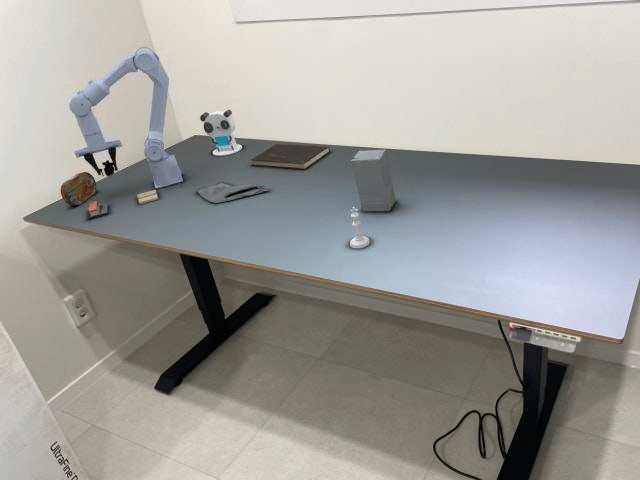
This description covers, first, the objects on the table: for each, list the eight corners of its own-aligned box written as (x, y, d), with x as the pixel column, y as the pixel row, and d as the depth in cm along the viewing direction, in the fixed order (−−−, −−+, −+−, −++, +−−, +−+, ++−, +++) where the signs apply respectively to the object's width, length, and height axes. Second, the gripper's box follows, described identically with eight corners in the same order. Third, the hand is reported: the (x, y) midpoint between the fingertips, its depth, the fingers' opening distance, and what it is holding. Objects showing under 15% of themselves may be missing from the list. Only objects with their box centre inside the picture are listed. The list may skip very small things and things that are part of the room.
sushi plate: (108, 205, 188) (104, 198, 186) (108, 214, 181) (104, 206, 180) (89, 211, 186) (85, 203, 185) (88, 220, 180) (85, 212, 178)
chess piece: (349, 240, 144) (342, 204, 138) (368, 237, 144) (362, 201, 138) (350, 249, 139) (343, 213, 134) (370, 246, 139) (364, 210, 134)
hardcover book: (305, 169, 190) (303, 163, 189) (252, 165, 201) (250, 159, 200) (330, 152, 201) (328, 145, 200) (279, 149, 212) (277, 143, 211)
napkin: (156, 193, 191) (155, 189, 191) (158, 199, 186) (157, 195, 186) (138, 198, 190) (137, 194, 189) (139, 204, 185) (138, 200, 184)
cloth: (184, 199, 183) (181, 193, 182) (213, 182, 192) (211, 176, 191) (244, 207, 170) (242, 201, 169) (272, 188, 180) (271, 182, 179)
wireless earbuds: (116, 171, 195) (111, 157, 193) (122, 171, 194) (116, 157, 192) (101, 179, 190) (95, 165, 188) (106, 179, 189) (100, 165, 186)
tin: (73, 209, 190) (63, 186, 185) (66, 209, 191) (55, 186, 186) (100, 190, 202) (90, 167, 198) (92, 190, 203) (83, 168, 198)
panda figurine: (206, 157, 216) (194, 118, 208) (218, 146, 226) (207, 108, 218) (235, 154, 214) (224, 115, 206) (246, 143, 223) (235, 105, 215)
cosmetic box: (396, 201, 159) (389, 147, 150) (388, 213, 153) (380, 158, 145) (368, 201, 162) (359, 148, 153) (359, 212, 156) (350, 158, 148)
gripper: (114, 124, 189) (129, 163, 196) (69, 135, 185) (86, 174, 192) (115, 129, 183) (130, 169, 190) (68, 141, 179) (85, 180, 187)
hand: (108, 172), depth 191 cm, fingers closed on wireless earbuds, 5 cm apart
